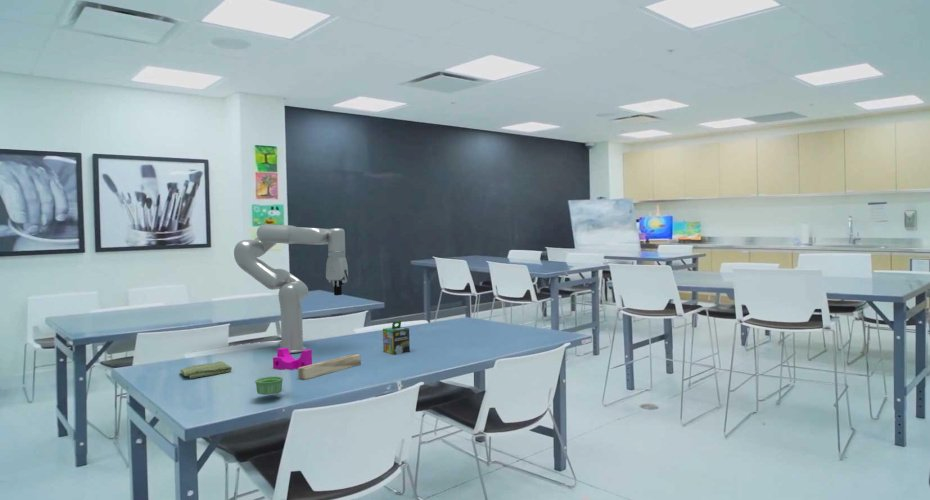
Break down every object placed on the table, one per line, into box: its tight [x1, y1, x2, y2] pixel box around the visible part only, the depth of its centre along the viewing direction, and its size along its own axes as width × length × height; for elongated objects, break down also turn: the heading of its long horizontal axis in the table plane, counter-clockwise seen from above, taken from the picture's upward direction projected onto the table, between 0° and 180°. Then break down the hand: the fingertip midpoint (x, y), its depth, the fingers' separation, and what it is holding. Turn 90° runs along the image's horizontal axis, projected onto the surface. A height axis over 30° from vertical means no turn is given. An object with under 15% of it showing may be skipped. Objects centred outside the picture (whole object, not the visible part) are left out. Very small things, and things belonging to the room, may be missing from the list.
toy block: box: [272, 347, 313, 371], centre depth 234 cm, size 15×6×8 cm, turn 65°
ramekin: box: [254, 375, 284, 396], centre depth 196 cm, size 9×9×4 cm
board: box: [297, 353, 362, 380], centre depth 226 cm, size 4×30×4 cm, turn 148°
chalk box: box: [382, 320, 411, 356], centre depth 261 cm, size 9×9×15 cm
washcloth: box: [179, 360, 233, 379], centre depth 229 cm, size 13×18×3 cm
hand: (337, 295), depth 262 cm, fingers closed
